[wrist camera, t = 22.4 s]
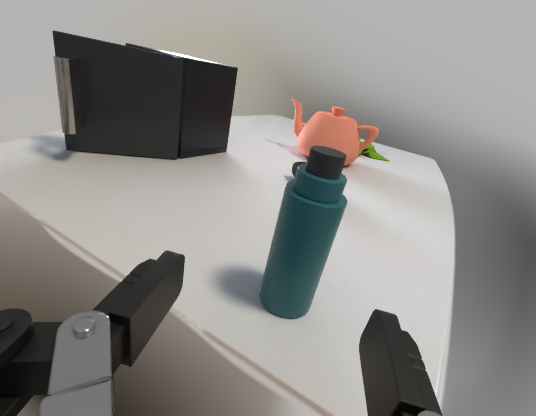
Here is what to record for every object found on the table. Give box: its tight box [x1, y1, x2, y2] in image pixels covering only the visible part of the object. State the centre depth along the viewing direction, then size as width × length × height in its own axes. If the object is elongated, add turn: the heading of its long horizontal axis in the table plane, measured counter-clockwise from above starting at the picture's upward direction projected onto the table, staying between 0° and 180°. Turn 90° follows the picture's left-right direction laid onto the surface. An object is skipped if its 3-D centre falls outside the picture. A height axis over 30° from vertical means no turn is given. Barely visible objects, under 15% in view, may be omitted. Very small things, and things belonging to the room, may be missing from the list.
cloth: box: [358, 142, 389, 161], centre depth 89 cm, size 20×22×2 cm
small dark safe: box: [126, 43, 238, 159], centre depth 54 cm, size 12×16×16 cm
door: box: [53, 31, 183, 159], centre depth 40 cm, size 7×16×16 cm, turn 108°
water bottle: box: [260, 146, 347, 319], centre depth 21 cm, size 4×4×13 cm
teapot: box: [291, 98, 379, 166], centre depth 68 cm, size 22×15×12 cm
